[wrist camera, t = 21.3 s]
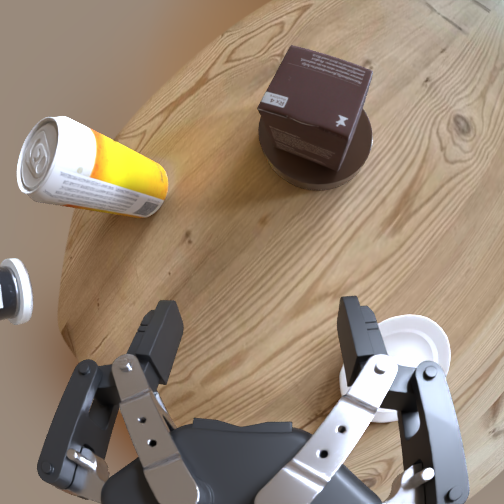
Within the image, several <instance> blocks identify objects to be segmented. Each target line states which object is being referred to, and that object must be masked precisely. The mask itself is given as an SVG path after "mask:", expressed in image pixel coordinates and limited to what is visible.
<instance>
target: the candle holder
mask: <svg viewBox="0 0 504 504" xmlns="http://www.w3.org/2000/svg"><path fill="white" fill-rule="evenodd" d="M378 326H379V330H380V332H381V335H382V338H383V341H384V344H385V347H386V351H387V354H388V356H390V357H391V358H393V359H394V361H395V362H396V363H397V364H399V365H402V366H408V367H417V366H418V364H420V363H421V362H423V361H434V362H436V363H437V364H439V365H440V366H441V368H442V369H443V372H444V375H445V378H446V376H447V373H448V370H449V365H450V346H449V342H448V339H447V337H446V335H445V333H444V331H443V330H442V329H441V327H440V326H439V325H438V324H436V323H435V322H434V321H432V320H430V319H428V318H426V317H423V316H418V315H402V316H397V317H393V318H390V319H387V320H385V321H383V322H381V323H379V324H378ZM339 379H340V391H341V395H342V396H343V395H345V394H346V393H347V392H348V390H349V389H350V387H347V381H346V375H345V369H344V363H343V366H342V368H341V371H340V374H339ZM397 420H398V417H397V411H396V410H390V409H382V408H378V409H377V411H376V413H375V415H374V416H373V418H372V420H371V422H378V423H386V422H393V421H397Z"/></svg>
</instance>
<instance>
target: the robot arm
mask: <svg viewBox="0 0 504 504" xmlns="http://www.w3.org/2000/svg"><path fill="white" fill-rule="evenodd" d="M19 310H20V291H19V286H18V282H17V278H16V276H15V273H14V271H13V270H12V269H11V268H10V267H9V266H2V267H0V320H5V319H9V318H10V319H12V318H16V317H17V316H18V314H19ZM140 325H141V326H139V328H138V330H137V331H138V332H137V333H136V335H135V337H134V339H133V341H132V343H131V345H130V347H129V349H128V352H127V354H124V355H121V356H119V357H118V358H117V359H116V360H115V361H114V362H113V364H110V365H103V366H98V365H97V364H96V362H95V361H93V360H90V359H87V360H83V361H81V362H80V363H79V364H78V365H77V366H76V367H75V369H74V372H73V374H72V376H71V378H70V381H69V382H68V385H67V387H66V389H65V391H64V394H63V396H62V398H61V401H60V403H59V406H58V408H57V411H56V413H55V415H54V418H53V421H52V423H51V426H50V428H49V432H48V434H47V437H46V439H45V442H44V445H43V448H42V451H41V454H40V457H39V460H38V464H37V470H38V474H39V476H40V478H41V479H42V480H44V481H45V482H47V483H49V484H51V485H53V486H55V487H56V488H58V489H60V490H62V491H64V492H66V493H69V494H71V495H74V496H77V497H80V498H82V499H85V500H89V499H90V500H92V501H95V502H98V503H100V504H464V503H465V502H466V500H467V498H468V495H469V481H468V473H467V466H466V460H465V454H464V448H463V443H462V438H461V434H460V429H459V425H458V421H457V417H456V413H455V409H454V405H453V401H452V398H451V394H450V391H449V388H448V384H447V381H446V378H445V375H444V372H443V369H442V368H441V366H440V365H439V364H437V363H436V362H434V361H423V362H421V363H420V364H418V366H417V367H408V366H402V365H399V364H397V363H396V362H395V361H394V359H393V358H391V357H390V356H388V354H387V351H386V347H385V344H384V341H383V338H382V335H381V332H380V330H379V326H378V323H377V320H376V318H375V315H374V312H373V311H372V310H371V309H370V308H369V307H368V306H360V304H359V301H358V298H357V296H345V297H341V298H340V304H339V311H338V318H337V331H338V336H339V342H340V347H341V352H342V358H343V363H344V369H345V375H346V381H347V387H350V389H349V390H348V392H347V393H346V394H345V395H343V396H342V397H341V398H340V400H339V401H338V402H337V404H336V405H335V407H334V408H333V409H332V411H331V412H330V413H329V415H328V416H327V417H326V419H325V420H324V421H323V423H322V424H321V425H320V426H319V428H318V429H317V430H316V432H315V433H314V434H313V435H312V434H310V433H308V432H306V431H304V430H301V429H298V428H293V427H292V422H265V423H260V424H255V425H250V426H245V427H239V426H235V425H232V424H228V423H225V422H222V421H219V420H212V419H201V418H194V420H193V424H188V425H184V426H181V427H179V428H177V427H176V425H175V424H174V422H173V420H172V419H171V417H170V415H169V413H168V411H167V409H166V407H165V405H164V403H163V401H162V399H161V397H160V395H159V393H158V391H157V387H158V384H163V385H166V384H167V381H168V378H169V375H170V372H171V369H172V365H173V362H174V359H175V356H176V353H177V350H178V347H179V344H180V341H181V338H182V335H183V329H184V327H183V321H182V318H181V315H180V312H179V310H178V307H177V304H176V302H175V301H174V300H160V301H159V302H158V305H157V307H156V309H155V310H151V311H150V312H149V313H147V314H146V315H145V316H144V318H143V320H142V322H141V324H140ZM93 399H94V400H93ZM92 401H93V403H92ZM91 404H92V406H91ZM90 407H91V408H90ZM119 407H120V410H121V413H122V416H123V419H124V422H125V424H126V427H127V429H128V432H129V435H130V437H131V440H132V442H133V445H134V447H135V450H136V452H137V454H138V458H136V459H135V460H134V461H132V462H131V463H130V464H128V465H127V466H125V467H124V468H123V469H121V470H120V471H119V472H117V473H116V474H114V475H113V476H111V477H110V478H109V475H110V473H109V471H108V465H107V463H106V462H105V456H106V452H107V448H108V444H109V441H110V437H111V434H112V430H113V427H114V423H115V420H116V417H117V413H118V410H119ZM378 408H382V409H390V410H396V411H397V417H398V424H399V431H400V438H401V446H402V456H403V466H404V472H402V473H401V474H399V475H398V476H397V477H396V478H395V479H394V481H393V483H392V488H391V493H390V495H389V497H388V498H387V499H386V500H385V501H384V502H382V501H381V500H380V498H379V497H378V496H377V495H376V494H375V493H374V492H373V491H371V490H370V489H369V488H368V487H367V486H366V485H365V484H364V483H363V482H362V481H361V480H359V479H358V478H357V477H356V476H355V475H354V474H353V473H352V472H351V471H350V470H349V469H348V468H347V467H346V466H345V465H344V464H343V462H344V461H345V459H346V458H347V456H348V455H349V454H350V452H351V451H352V449H353V448H354V446H355V445H356V443H357V442H358V440H359V439H360V437H361V436H362V434H363V433H364V431H365V429H366V428H367V426H368V425H369V423H370V421H371V420H372V418H373V416H374V415H375V413H376V411H377V409H378ZM89 410H90V411H89Z"/></svg>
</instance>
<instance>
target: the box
mask: <svg viewBox="0 0 504 504" xmlns="http://www.w3.org/2000/svg"><path fill="white" fill-rule="evenodd" d="M372 74H373V71H371V70H369V69H366V68H364V67H361V66H359V65H356V64H353V63H350V62H347V61H345V60H342V59H339V58H336V57H332V56H329V55H326V54H323V53H319V52H316V51H312V50H309V49H305V48H301V47H297V46H293V45H291V46H290V48H289V50H288V51H287V53H286V55H285V57H284V59H283V61H282V62H281V64H280V66H279V68H278V70H277V72H276V74H275V76H274V78H273V79H272V81H271V83H270V85H269V87H268V89H267V91H266V92H265V94H264V96H263V98H262V100H261V102H260V104H259V106H258V108H257V109H258V111H259V113H260V115H261V118H262V120H263V122H264V124H265V127H266V129H267V132H268V134H269V136H270V139H271V141H272V144H273V146H274V147H275V148H278V149H281V150H284V151H287V152H289V153H292V154H294V155H297V156H300V157H302V158H305V159H308V160H310V161H313V162H315V163H318V164H320V165H323V166H325V167H328V168H330V169H332V170H335V171H339V169H340V167H341V165H342V162H343V160H344V158H345V155H346V153H347V150H348V148H349V145H350V143H351V140H352V138H353V135H354V132H355V129H356V127H357V124H358V121H359V118H360V115H361V112H362V109H363V106H364V102H365V99H366V96H367V92H368V89H369V85H370V83H371V79H372Z"/></svg>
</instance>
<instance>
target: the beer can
mask: <svg viewBox="0 0 504 504" xmlns="http://www.w3.org/2000/svg"><path fill="white" fill-rule="evenodd" d="M17 181H18V185H19V188H20V190H21V191H22V192H23V193H25V194H27V195H28V196H29V197H30V198H31V199H32V200H34V201H36V202H40V203H47V204H53V205H60V206H66V207H73V208H79V209H86V210H92V211H98V212H104V213H111V214H117V215H123V216H129V217H135V218H145V217H148V216H150V215H152V214H154V213H155V212H156V211H157V210H158V209H159V208H160V207H161V205H162V204H163V202H164V200H165V198H166V195H167V191H168V179H167V175H166V172H165V171H164V169H163V168H162V167H161V166H160V165H159V164H158V163H156V162H154V161H152V160H150V159H148V158H146V157H145V156H143V155H141V154H139V153H137V152H135V151H133V150H131V149H129V148H127V147H125V146H123V145H122V144H120V143H118V142H116V141H114V140H112V139H110V138H108V137H106V136H104V135H102V134H100V133H97V132H96V131H94V130H92V129H90V128H88V127H86V126H84V125H82V124H80V123H78V122H76V121H74V120H72V119H70V118H67V117H63V116H62V117H55V118H53V117H46V118H44V119H42V120H41V121H39V122H38V123H37V124H36V125H35V126H34V128H33V129H32V130H31V131H30V133H29V135H28V136H27V138H26V140H25V142H24V144H23V147H22V149H21V152H20V156H19V160H18V166H17Z"/></svg>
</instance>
